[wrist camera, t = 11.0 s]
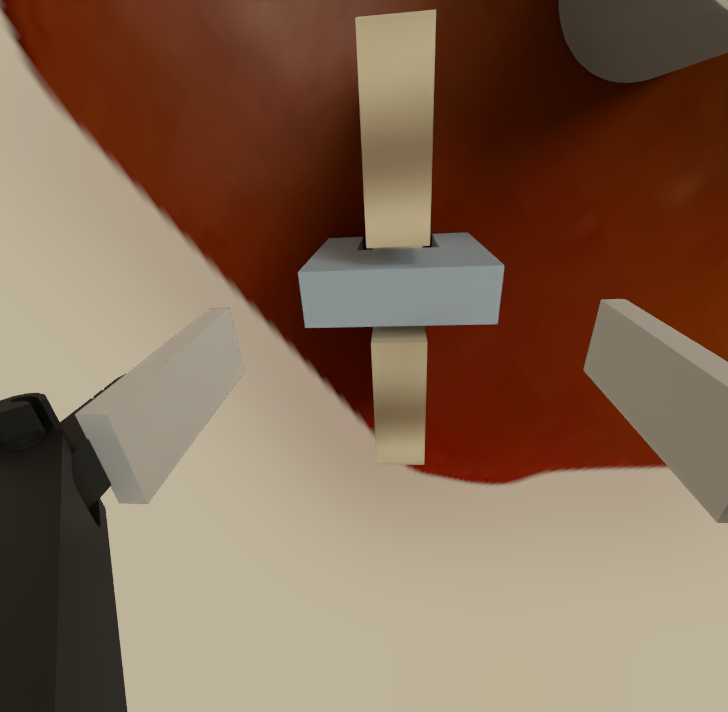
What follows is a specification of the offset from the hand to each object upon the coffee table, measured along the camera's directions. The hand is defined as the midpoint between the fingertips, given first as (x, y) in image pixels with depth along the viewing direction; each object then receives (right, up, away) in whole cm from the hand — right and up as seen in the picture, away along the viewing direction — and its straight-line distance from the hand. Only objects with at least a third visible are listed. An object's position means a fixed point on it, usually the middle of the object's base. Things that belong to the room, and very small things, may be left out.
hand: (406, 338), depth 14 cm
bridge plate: (+1, +7, +14) cm, 16 cm away
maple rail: (+1, +7, +14) cm, 16 cm away
